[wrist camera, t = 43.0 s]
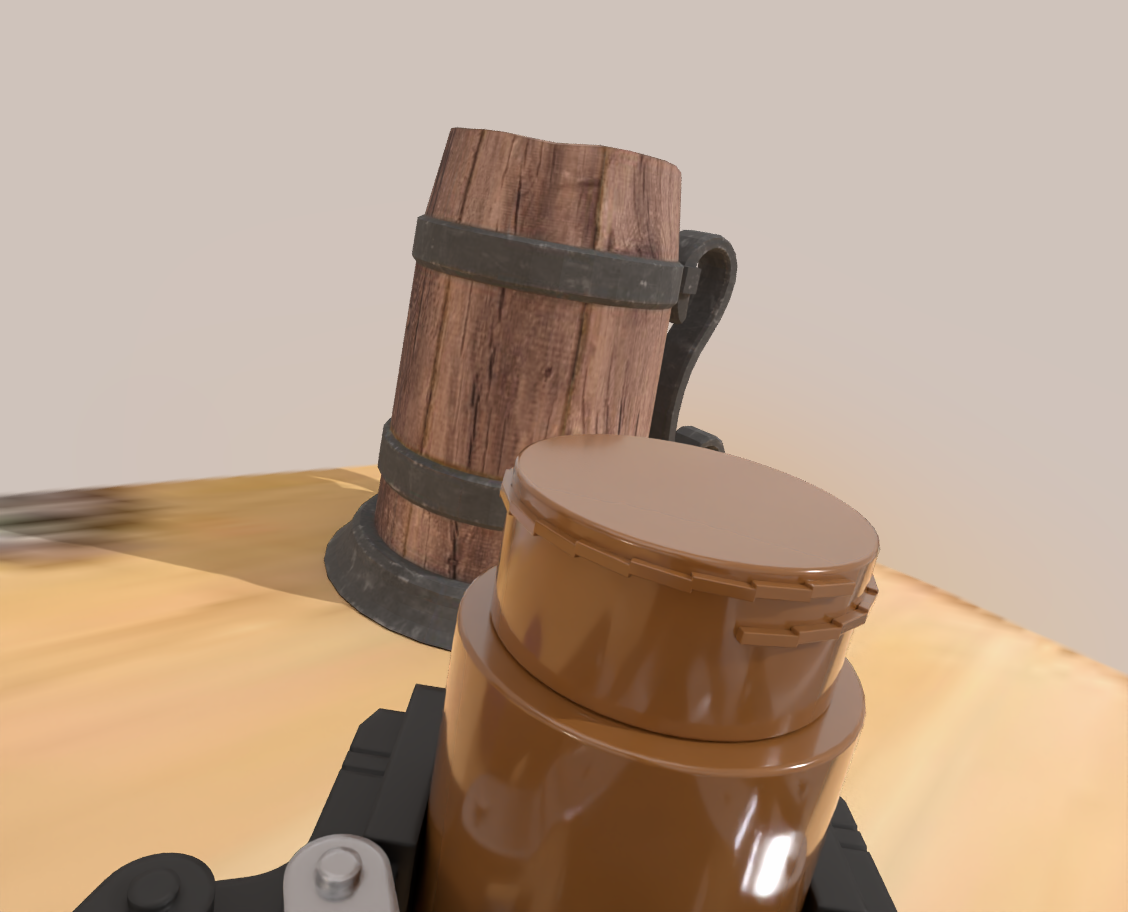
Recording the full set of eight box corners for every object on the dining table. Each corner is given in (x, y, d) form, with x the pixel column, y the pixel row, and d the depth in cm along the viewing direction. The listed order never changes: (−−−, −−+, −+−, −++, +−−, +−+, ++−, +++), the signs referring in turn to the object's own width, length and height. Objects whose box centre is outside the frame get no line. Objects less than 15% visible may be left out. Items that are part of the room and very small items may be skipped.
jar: (330, 1110, 14) (420, 418, 10) (577, 1007, 16) (718, 428, 13) (428, 1541, 10) (639, 614, 6) (738, 1307, 12) (1018, 570, 9)
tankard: (438, 704, 27) (528, 104, 22) (271, 517, 39) (299, 97, 33) (804, 590, 43) (917, 219, 37) (604, 480, 54) (664, 186, 49)
